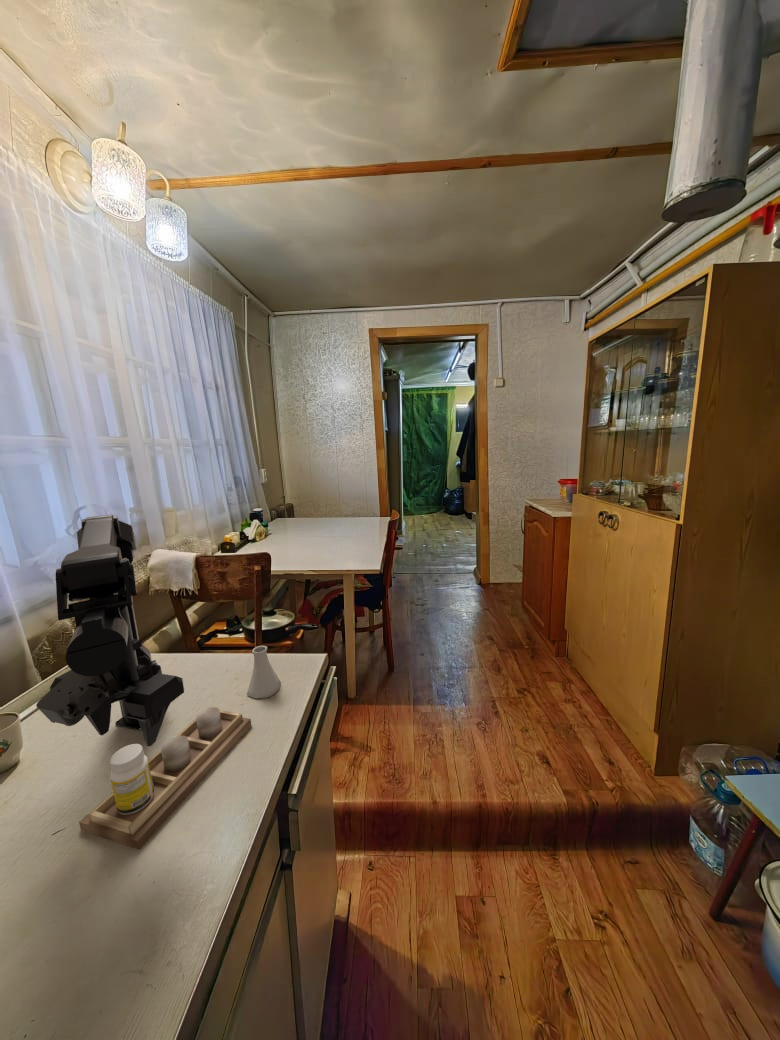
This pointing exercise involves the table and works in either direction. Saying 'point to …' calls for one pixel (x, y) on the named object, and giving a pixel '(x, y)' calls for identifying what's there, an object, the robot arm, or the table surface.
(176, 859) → the table surface
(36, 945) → the table surface
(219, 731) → the socket tray
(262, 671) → the flask
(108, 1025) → the table surface
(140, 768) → the supplement bottle
